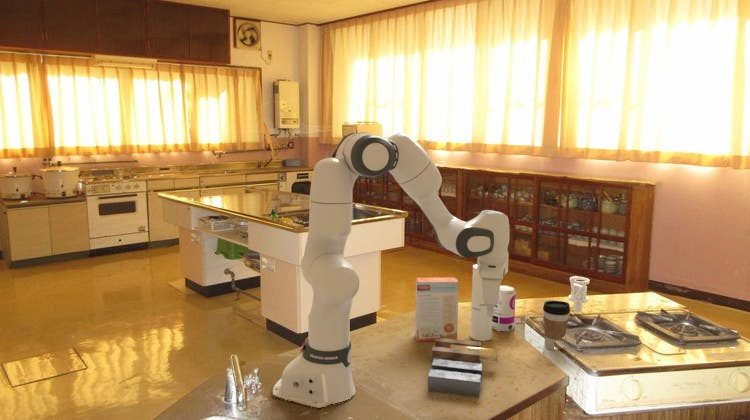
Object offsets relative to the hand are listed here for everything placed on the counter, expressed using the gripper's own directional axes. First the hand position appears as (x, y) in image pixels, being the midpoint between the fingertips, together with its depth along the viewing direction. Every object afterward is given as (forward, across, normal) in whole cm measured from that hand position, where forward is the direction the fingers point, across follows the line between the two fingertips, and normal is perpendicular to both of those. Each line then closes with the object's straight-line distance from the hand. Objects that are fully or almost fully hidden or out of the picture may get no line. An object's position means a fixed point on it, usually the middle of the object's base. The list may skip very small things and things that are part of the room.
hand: (490, 310), depth 161 cm
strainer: (+19, -57, +31) cm, 68 cm away
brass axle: (+14, 0, -5) cm, 15 cm away
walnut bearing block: (+18, 0, -10) cm, 21 cm away
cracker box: (+18, -19, -19) cm, 32 cm away
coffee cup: (+19, -22, +20) cm, 35 cm away
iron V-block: (+18, +13, -9) cm, 24 cm away
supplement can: (+18, -34, +3) cm, 39 cm away
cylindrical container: (+18, -24, -4) cm, 30 cm away
